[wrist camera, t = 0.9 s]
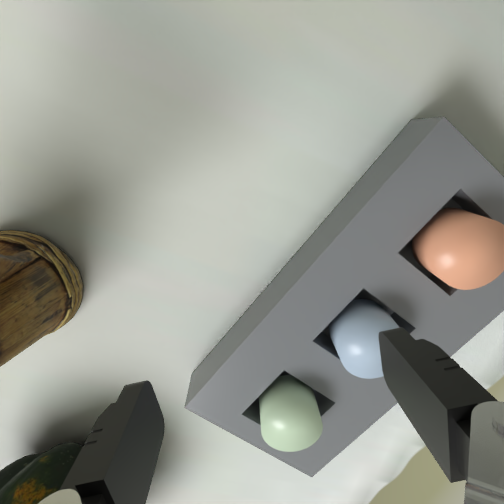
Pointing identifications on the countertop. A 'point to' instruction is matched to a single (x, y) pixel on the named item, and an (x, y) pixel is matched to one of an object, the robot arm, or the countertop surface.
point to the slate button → (360, 337)
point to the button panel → (356, 294)
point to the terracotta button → (461, 248)
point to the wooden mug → (34, 291)
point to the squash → (37, 475)
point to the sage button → (289, 415)
